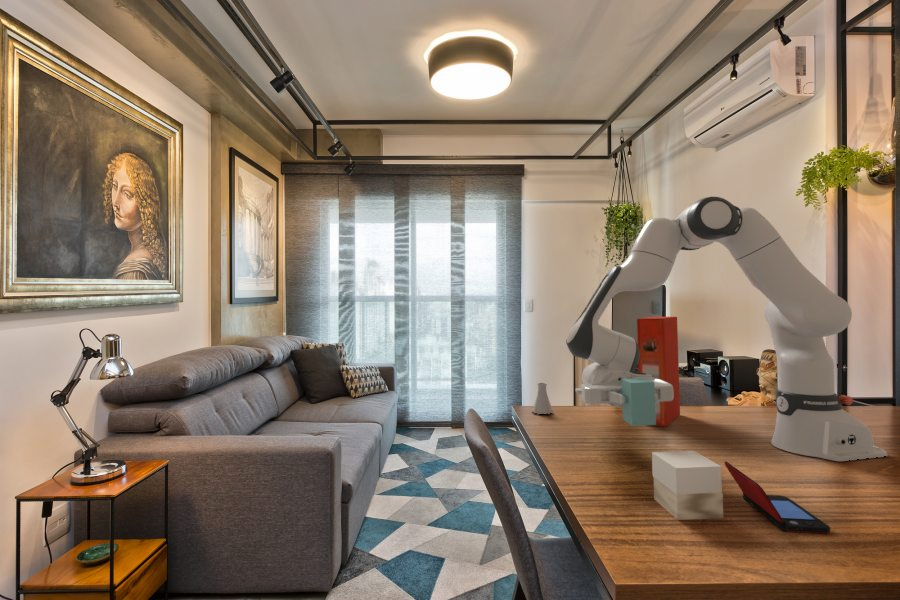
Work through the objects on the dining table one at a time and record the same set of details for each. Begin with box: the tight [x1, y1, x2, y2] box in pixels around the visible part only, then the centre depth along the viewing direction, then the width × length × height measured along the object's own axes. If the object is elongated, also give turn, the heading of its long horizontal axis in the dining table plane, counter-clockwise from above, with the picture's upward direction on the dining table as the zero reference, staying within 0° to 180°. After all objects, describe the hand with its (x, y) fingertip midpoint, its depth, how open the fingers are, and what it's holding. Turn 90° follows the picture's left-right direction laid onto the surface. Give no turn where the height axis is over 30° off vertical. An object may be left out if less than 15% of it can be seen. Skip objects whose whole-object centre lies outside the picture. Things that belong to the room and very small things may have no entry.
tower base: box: [653, 477, 724, 521], centre depth 80 cm, size 8×8×4 cm
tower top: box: [651, 450, 723, 495], centre depth 80 cm, size 8×8×4 cm
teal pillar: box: [621, 378, 657, 427], centre depth 96 cm, size 5×5×9 cm
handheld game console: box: [724, 461, 831, 534], centre depth 77 cm, size 12×11×7 cm
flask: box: [531, 382, 554, 414], centre depth 150 cm, size 7×7×10 cm
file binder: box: [636, 316, 681, 428], centre depth 140 cm, size 8×17×32 cm, turn 142°
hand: (639, 399), depth 95 cm, fingers closed on teal pillar, 5 cm apart
